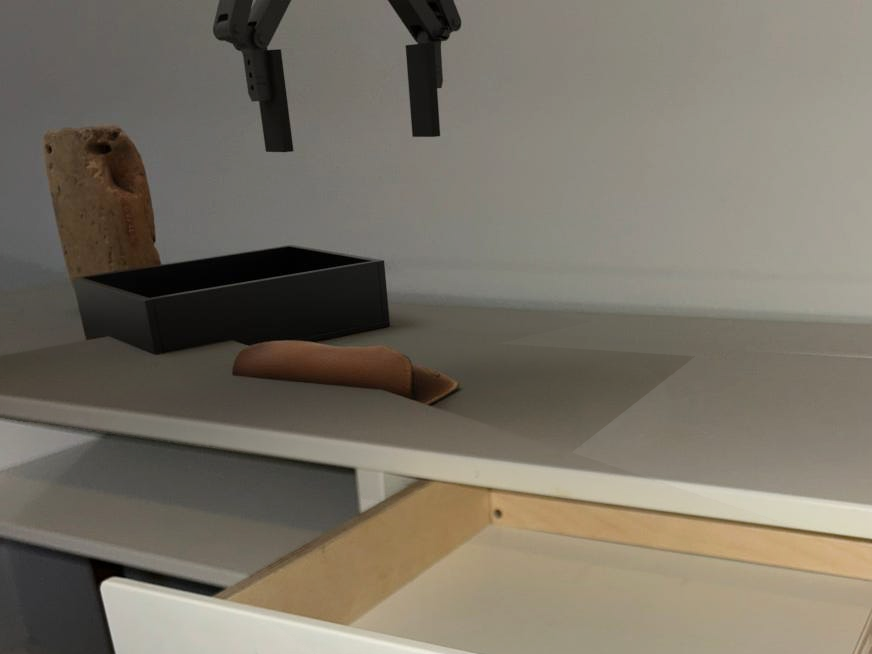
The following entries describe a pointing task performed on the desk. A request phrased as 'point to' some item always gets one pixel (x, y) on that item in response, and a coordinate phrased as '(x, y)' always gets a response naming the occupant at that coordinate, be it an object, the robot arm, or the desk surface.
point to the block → (100, 200)
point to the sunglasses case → (343, 368)
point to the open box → (236, 299)
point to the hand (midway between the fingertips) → (356, 144)
